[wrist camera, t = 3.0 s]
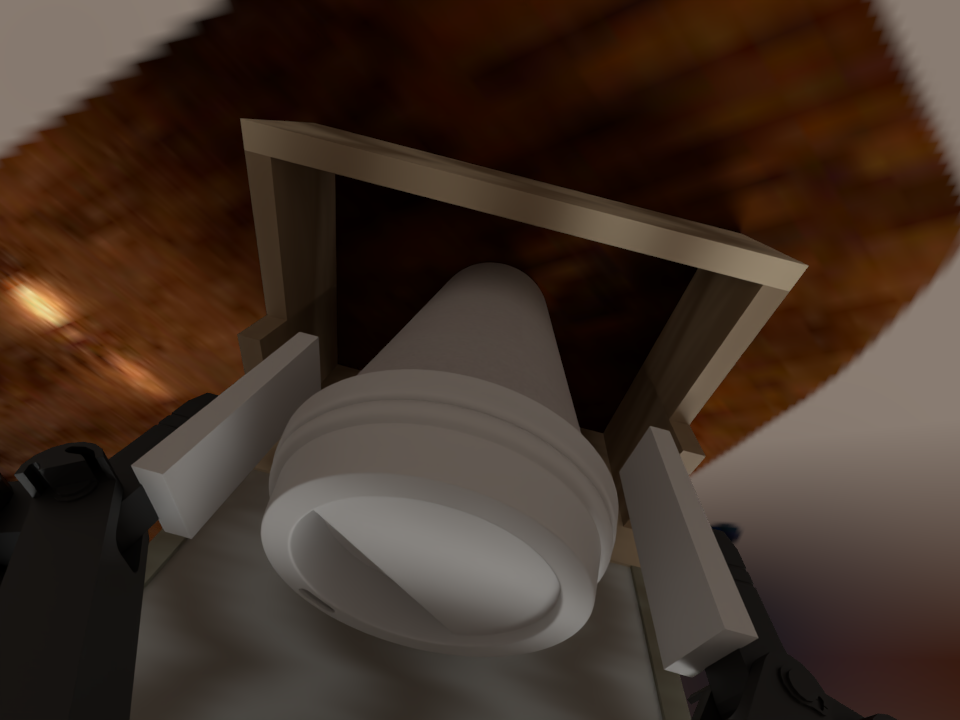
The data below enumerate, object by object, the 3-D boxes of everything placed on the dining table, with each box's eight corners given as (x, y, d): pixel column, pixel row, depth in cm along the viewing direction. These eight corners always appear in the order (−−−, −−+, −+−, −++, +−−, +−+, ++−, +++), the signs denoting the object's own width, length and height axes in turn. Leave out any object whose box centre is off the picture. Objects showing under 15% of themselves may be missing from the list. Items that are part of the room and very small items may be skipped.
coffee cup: (396, 241, 19) (133, 435, 7) (576, 223, 18) (672, 441, 5) (430, 383, 24) (313, 648, 12) (573, 380, 23) (618, 688, 10)
